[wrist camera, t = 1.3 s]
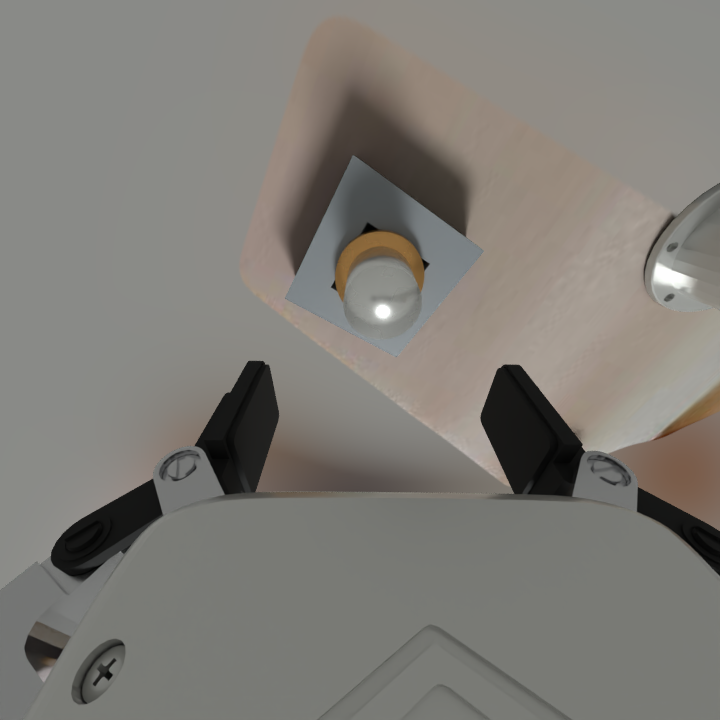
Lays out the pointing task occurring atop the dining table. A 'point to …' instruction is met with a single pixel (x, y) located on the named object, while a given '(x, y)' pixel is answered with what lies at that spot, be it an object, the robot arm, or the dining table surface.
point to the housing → (375, 212)
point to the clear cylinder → (380, 283)
